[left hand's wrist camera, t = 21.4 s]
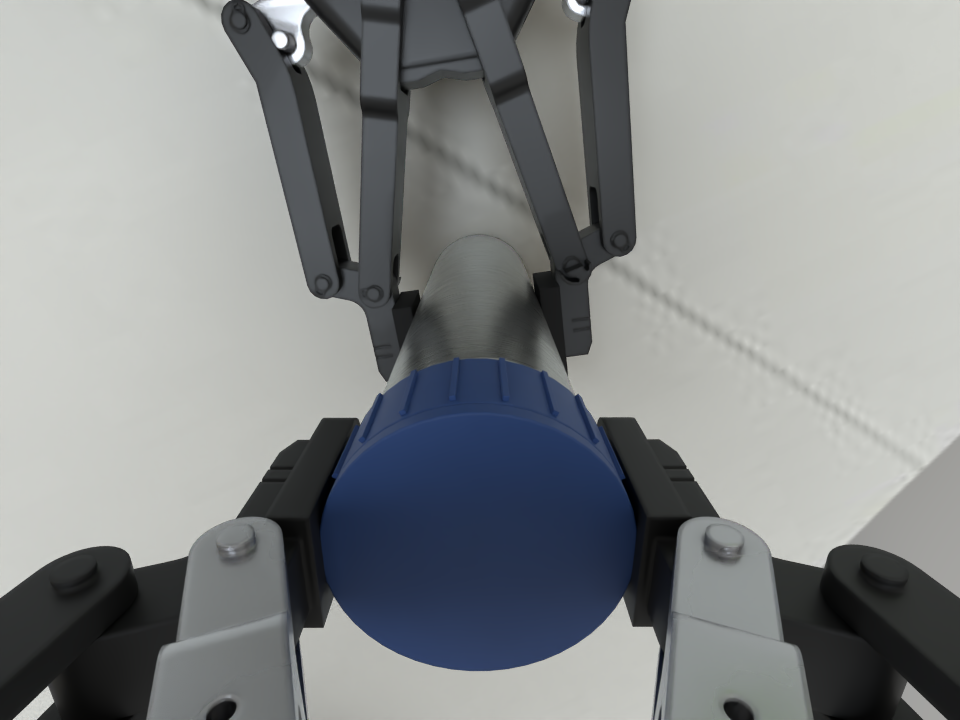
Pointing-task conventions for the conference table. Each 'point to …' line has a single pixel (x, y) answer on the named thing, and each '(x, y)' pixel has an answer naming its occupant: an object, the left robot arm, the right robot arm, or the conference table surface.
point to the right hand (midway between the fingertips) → (496, 431)
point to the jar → (479, 313)
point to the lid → (478, 518)
